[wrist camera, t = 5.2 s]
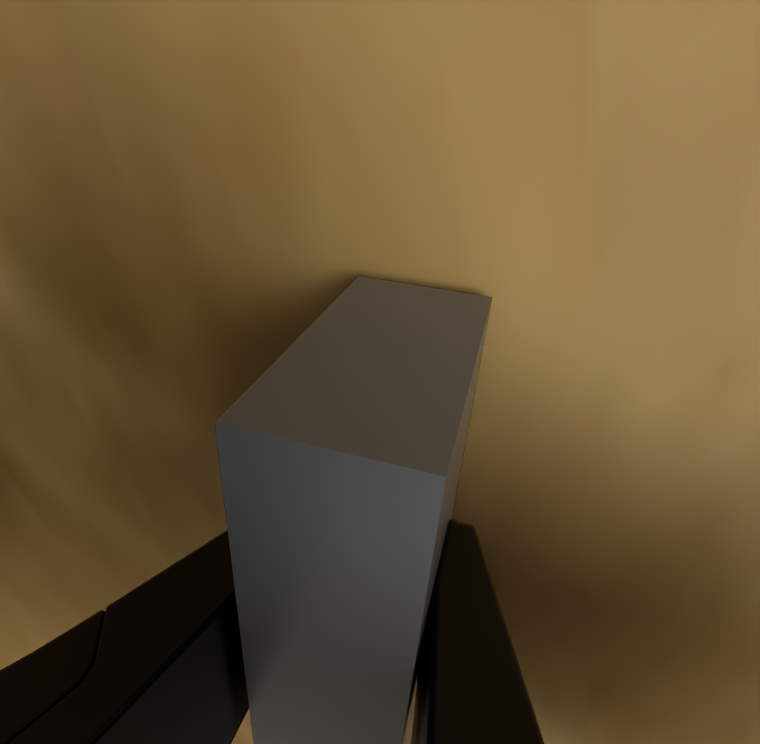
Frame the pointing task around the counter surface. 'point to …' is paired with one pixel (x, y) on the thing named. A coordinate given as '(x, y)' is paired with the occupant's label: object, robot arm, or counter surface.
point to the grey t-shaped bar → (348, 508)
